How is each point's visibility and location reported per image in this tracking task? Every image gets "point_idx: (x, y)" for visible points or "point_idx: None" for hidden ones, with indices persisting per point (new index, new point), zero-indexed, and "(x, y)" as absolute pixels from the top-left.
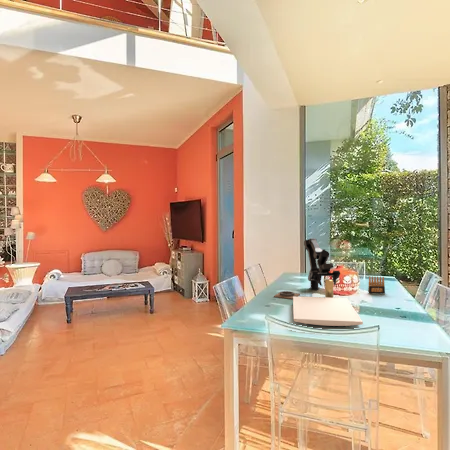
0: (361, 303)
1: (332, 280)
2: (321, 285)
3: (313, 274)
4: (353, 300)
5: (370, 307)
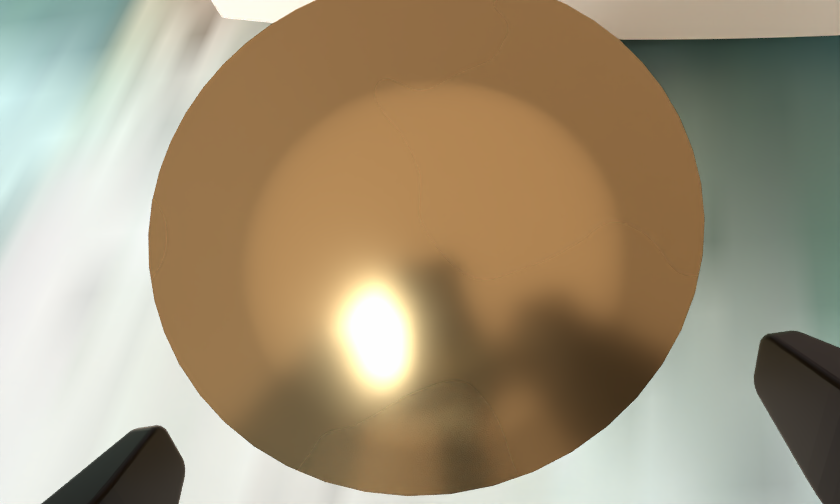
0: (17, 181)
1: (221, 117)
2: (760, 359)
3: None
4: (45, 351)
5: (8, 15)
